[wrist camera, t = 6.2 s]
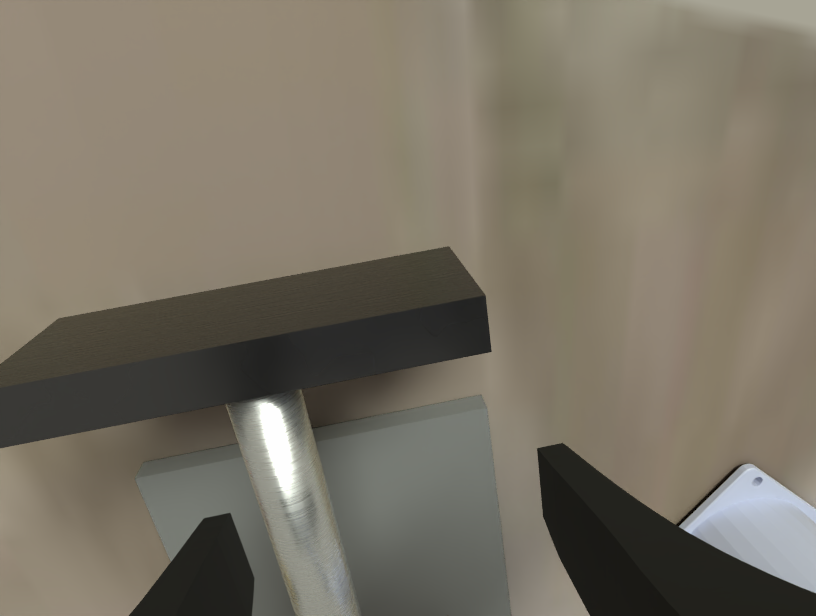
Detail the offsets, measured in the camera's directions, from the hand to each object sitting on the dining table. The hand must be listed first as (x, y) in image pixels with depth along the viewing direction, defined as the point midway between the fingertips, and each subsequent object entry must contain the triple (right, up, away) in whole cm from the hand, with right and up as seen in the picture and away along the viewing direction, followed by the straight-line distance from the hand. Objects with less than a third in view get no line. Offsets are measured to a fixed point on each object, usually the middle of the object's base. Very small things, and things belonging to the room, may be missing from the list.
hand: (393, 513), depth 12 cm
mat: (-1, -12, +15) cm, 19 cm away
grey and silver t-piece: (-3, -4, +8) cm, 10 cm away
